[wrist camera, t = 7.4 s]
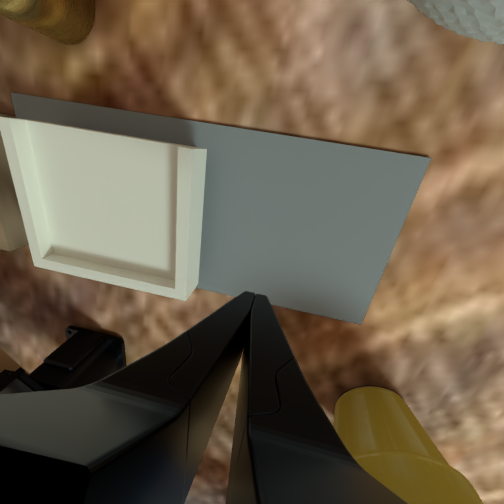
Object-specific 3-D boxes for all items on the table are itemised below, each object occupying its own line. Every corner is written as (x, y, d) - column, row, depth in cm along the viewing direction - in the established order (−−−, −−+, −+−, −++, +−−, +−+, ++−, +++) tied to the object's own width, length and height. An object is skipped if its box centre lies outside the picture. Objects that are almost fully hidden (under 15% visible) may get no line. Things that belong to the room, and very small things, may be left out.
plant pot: (399, 353, 21) (475, 506, 12) (449, 428, 23) (545, 603, 14) (295, 389, 25) (295, 527, 16) (347, 451, 27) (373, 601, 18)
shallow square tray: (204, 275, 21) (185, 300, 17) (76, 247, 22) (34, 266, 18) (214, 148, 17) (192, 149, 13) (55, 122, 18) (-4, 116, 14)
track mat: (360, 323, 20) (361, 324, 20) (47, 253, 23) (46, 254, 23) (429, 157, 15) (431, 158, 15) (12, 92, 18) (10, 92, 18)
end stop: (44, 238, 22) (9, 251, 20) (25, 234, 23) (-12, 246, 20) (17, 116, 18) (-32, 110, 16) (-6, 112, 18) (-58, 105, 16)
